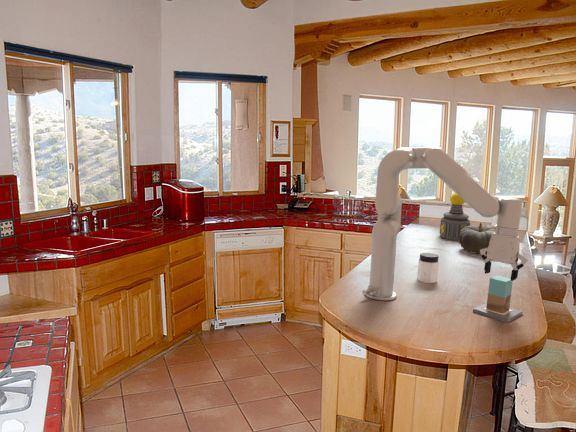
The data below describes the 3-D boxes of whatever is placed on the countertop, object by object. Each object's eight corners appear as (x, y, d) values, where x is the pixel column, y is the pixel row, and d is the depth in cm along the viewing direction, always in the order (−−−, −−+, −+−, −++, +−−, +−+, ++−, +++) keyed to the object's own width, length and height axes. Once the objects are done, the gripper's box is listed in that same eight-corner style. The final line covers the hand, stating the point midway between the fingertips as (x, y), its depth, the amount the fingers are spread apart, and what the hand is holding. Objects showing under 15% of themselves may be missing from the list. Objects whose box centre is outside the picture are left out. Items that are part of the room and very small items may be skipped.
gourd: (496, 243, 291) (498, 216, 285) (510, 260, 267) (512, 231, 262) (454, 245, 294) (454, 218, 288) (463, 262, 271) (464, 233, 265)
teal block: (504, 297, 175) (506, 282, 174) (488, 293, 179) (489, 278, 178) (511, 294, 179) (512, 279, 178) (495, 290, 183) (496, 275, 182)
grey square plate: (507, 322, 171) (508, 318, 171) (472, 311, 181) (473, 308, 181) (522, 314, 180) (522, 310, 180) (488, 304, 190) (488, 301, 189)
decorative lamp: (433, 235, 324) (437, 190, 319) (456, 234, 329) (461, 190, 324) (450, 241, 306) (455, 194, 301) (475, 240, 312) (480, 194, 307)
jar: (414, 280, 217) (416, 255, 215) (419, 276, 224) (421, 251, 222) (434, 284, 213) (437, 258, 211) (439, 280, 220) (441, 254, 218)
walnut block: (502, 313, 176) (504, 297, 175) (486, 308, 180) (487, 293, 179) (509, 310, 180) (511, 294, 179) (493, 305, 184) (495, 290, 183)
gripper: (479, 227, 179) (472, 272, 182) (527, 237, 167) (519, 284, 170) (488, 225, 184) (482, 269, 187) (535, 235, 172) (528, 281, 175)
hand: (499, 276), depth 178 cm, fingers open, 9 cm apart
